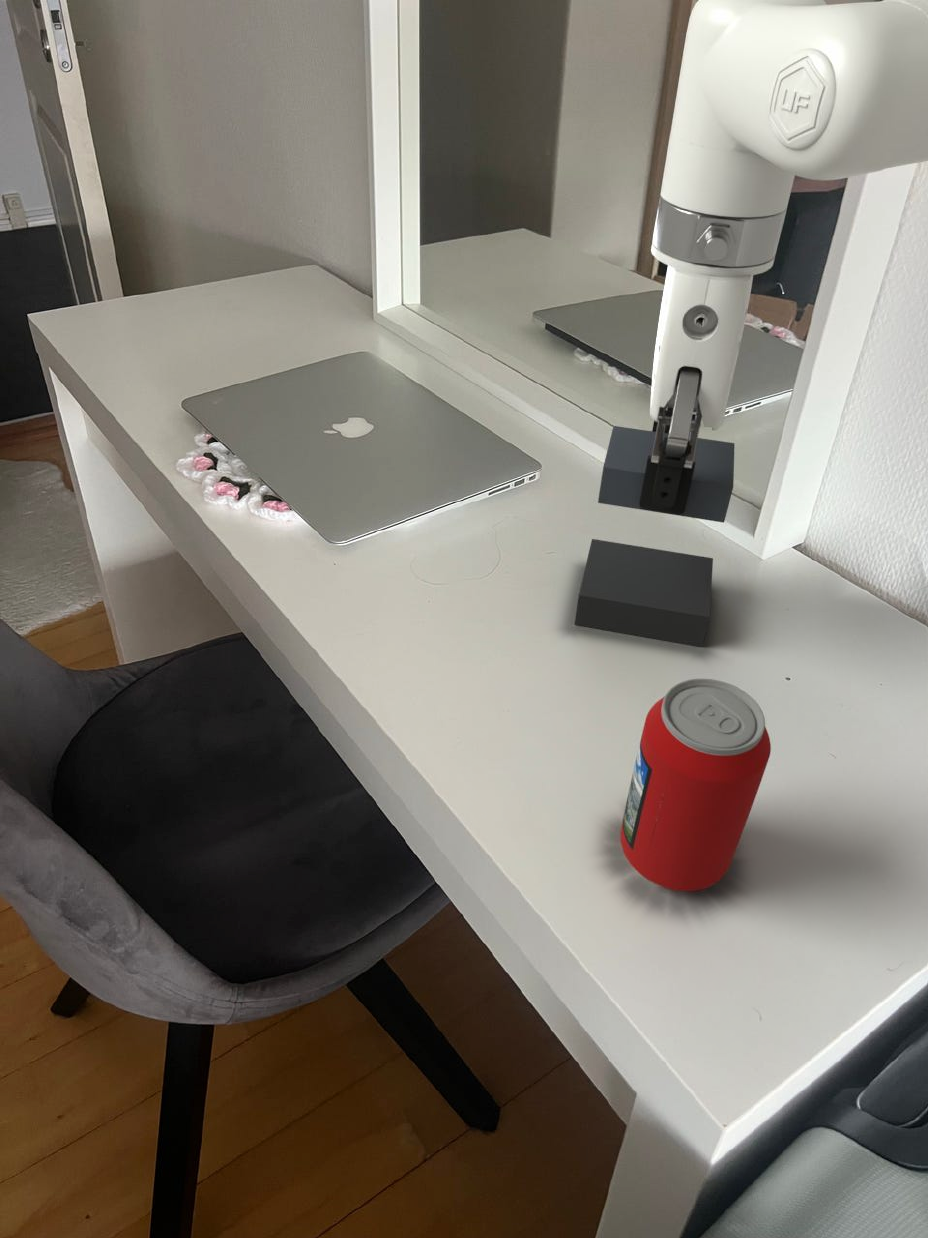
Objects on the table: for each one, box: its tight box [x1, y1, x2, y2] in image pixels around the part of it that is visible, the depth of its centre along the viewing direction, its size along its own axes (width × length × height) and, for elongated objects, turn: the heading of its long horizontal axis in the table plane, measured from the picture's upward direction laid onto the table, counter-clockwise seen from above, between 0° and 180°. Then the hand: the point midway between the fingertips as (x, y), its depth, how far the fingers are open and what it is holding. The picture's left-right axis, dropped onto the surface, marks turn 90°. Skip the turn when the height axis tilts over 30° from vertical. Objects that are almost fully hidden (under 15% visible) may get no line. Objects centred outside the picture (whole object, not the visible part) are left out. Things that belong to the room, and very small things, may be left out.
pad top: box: [597, 425, 735, 524], centre depth 67 cm, size 9×6×3 cm
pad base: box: [574, 538, 714, 648], centre depth 74 cm, size 10×8×3 cm
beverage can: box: [619, 678, 772, 892], centre depth 52 cm, size 7×7×12 cm
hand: (665, 482), depth 67 cm, fingers closed on pad top, 6 cm apart
